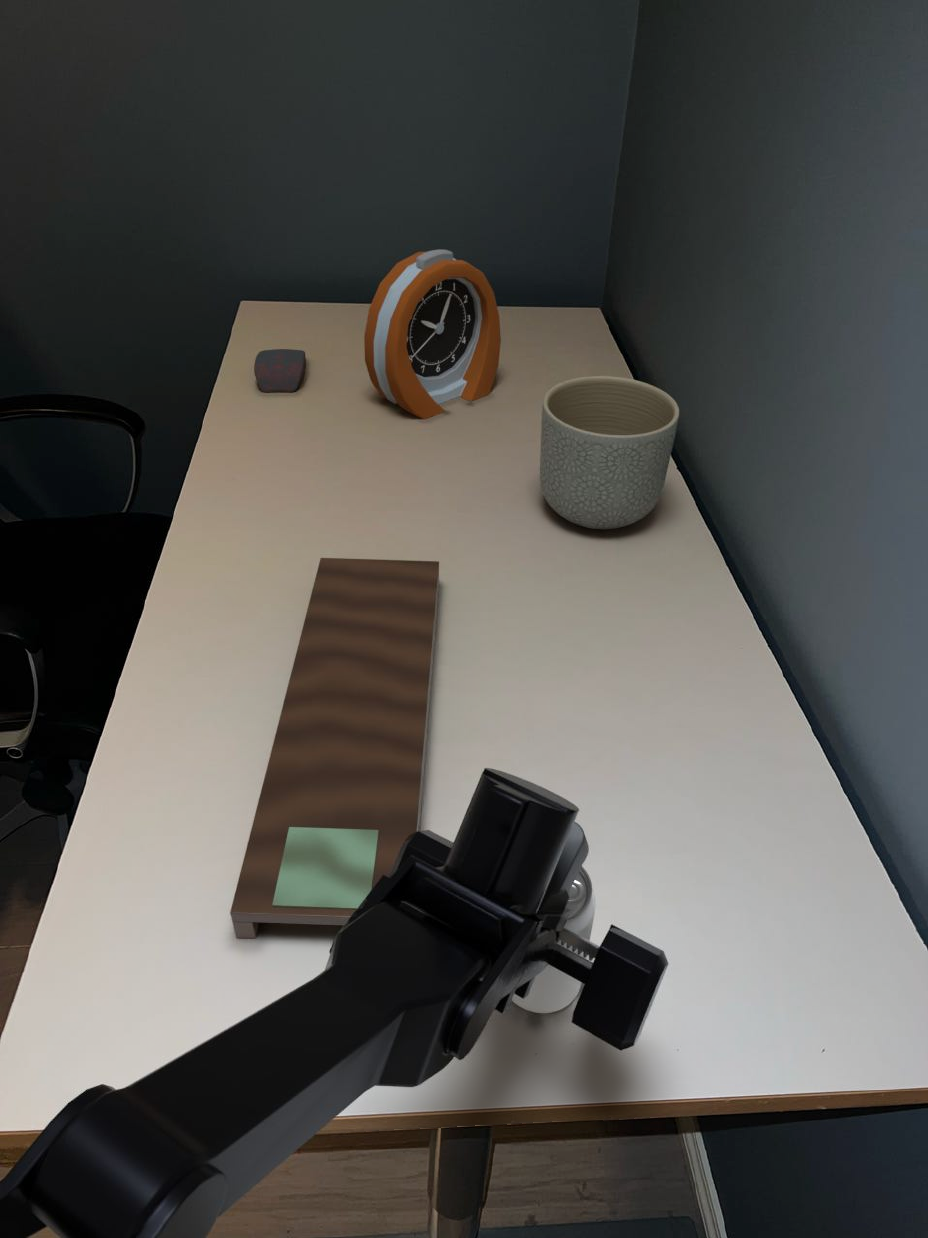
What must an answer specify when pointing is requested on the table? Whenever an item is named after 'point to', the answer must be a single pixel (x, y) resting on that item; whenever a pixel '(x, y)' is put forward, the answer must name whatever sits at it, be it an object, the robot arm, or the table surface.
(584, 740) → the table surface
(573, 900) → the can
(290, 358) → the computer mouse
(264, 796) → the shelf
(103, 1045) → the table surface
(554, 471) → the planter
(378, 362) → the alarm clock
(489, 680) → the table surface
